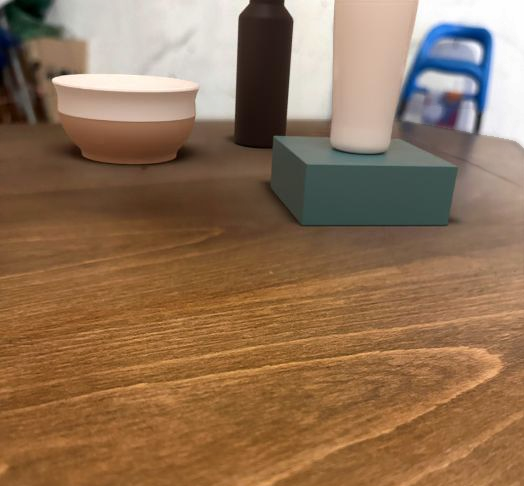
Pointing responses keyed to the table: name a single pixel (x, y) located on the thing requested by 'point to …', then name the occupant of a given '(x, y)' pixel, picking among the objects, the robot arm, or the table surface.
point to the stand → (361, 183)
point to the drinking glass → (368, 71)
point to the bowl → (126, 115)
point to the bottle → (262, 72)
